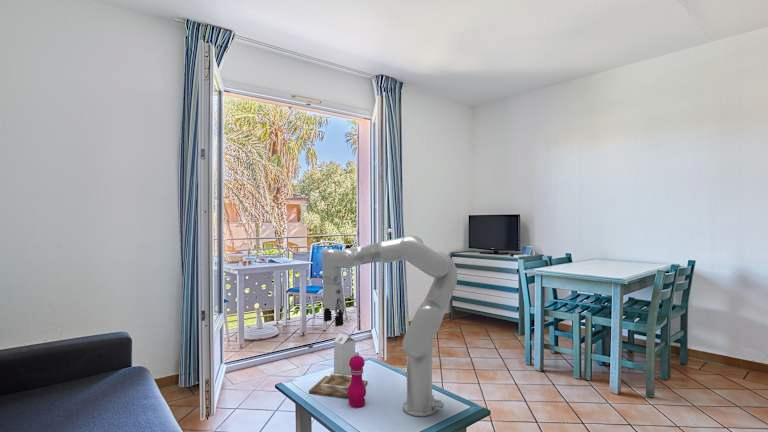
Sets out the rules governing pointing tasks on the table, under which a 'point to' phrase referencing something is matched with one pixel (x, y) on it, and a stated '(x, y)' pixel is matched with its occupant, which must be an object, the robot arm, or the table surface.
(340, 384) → the stand
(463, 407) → the table surface
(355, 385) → the pepper mill
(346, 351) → the milk carton
